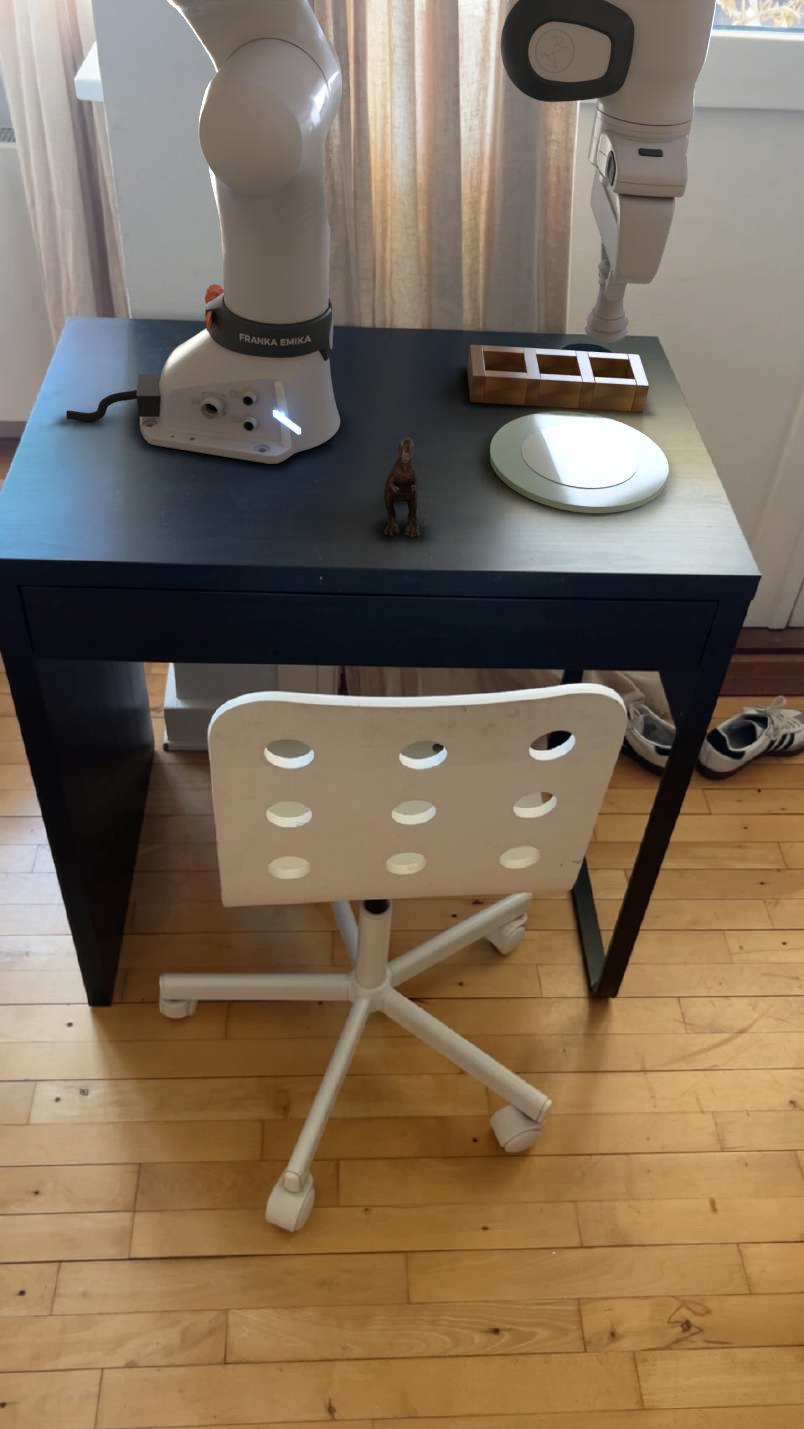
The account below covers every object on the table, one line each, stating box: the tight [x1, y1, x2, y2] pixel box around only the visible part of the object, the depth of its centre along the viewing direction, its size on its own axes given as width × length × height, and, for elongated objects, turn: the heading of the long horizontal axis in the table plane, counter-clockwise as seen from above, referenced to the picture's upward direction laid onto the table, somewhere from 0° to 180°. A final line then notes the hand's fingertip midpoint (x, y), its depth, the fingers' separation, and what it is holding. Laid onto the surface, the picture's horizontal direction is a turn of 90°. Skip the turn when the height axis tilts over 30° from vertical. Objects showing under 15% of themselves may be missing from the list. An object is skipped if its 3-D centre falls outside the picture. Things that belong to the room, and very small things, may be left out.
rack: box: [466, 344, 650, 413], centre depth 141 cm, size 21×8×4 cm, turn 91°
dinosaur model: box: [383, 437, 421, 538], centre depth 117 cm, size 4×12×15 cm
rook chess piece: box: [584, 255, 629, 344], centre depth 117 cm, size 4×4×8 cm
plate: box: [488, 410, 670, 514], centre depth 130 cm, size 20×20×1 cm
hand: (609, 289), depth 117 cm, fingers closed on rook chess piece, 3 cm apart
